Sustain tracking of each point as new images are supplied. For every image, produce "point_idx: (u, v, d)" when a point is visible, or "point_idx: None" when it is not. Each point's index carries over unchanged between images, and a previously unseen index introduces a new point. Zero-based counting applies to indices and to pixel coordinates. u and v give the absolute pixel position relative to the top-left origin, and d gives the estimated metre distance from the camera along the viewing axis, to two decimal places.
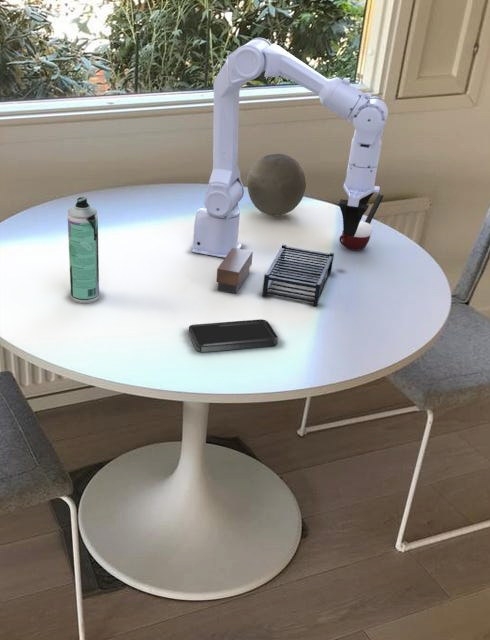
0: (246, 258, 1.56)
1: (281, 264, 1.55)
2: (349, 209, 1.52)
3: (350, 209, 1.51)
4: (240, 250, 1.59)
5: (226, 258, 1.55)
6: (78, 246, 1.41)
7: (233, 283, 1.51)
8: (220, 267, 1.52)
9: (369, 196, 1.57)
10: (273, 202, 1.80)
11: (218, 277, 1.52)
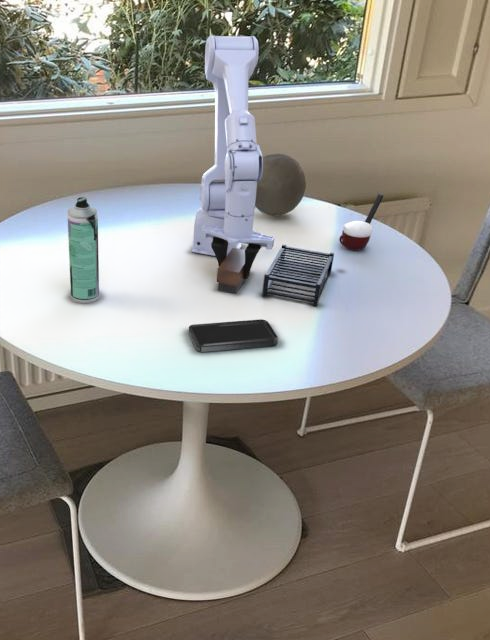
0: None
1: (281, 264, 1.55)
2: None
3: None
4: (240, 250, 1.59)
5: (226, 258, 1.55)
6: (78, 246, 1.41)
7: (233, 283, 1.51)
8: (220, 267, 1.52)
9: (245, 254, 1.51)
10: (273, 202, 1.80)
11: (218, 277, 1.52)
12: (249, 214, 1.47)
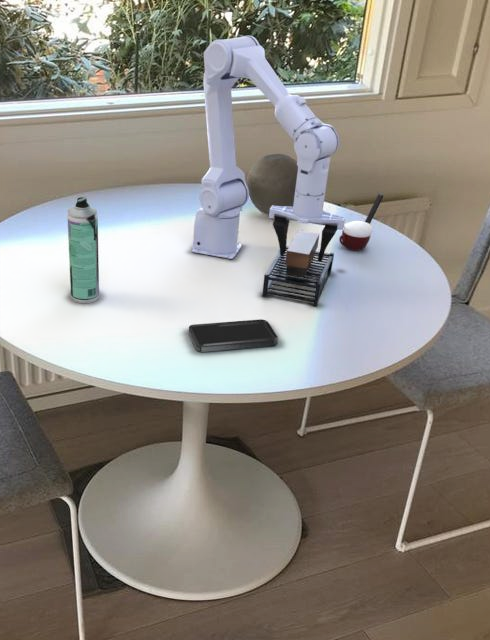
0: (314, 241, 1.53)
1: (281, 264, 1.55)
2: None
3: None
4: (306, 232, 1.56)
5: (294, 240, 1.53)
6: (78, 246, 1.41)
7: (303, 265, 1.49)
8: (289, 249, 1.49)
9: None
10: (273, 202, 1.80)
11: (287, 259, 1.49)
12: (325, 191, 1.46)
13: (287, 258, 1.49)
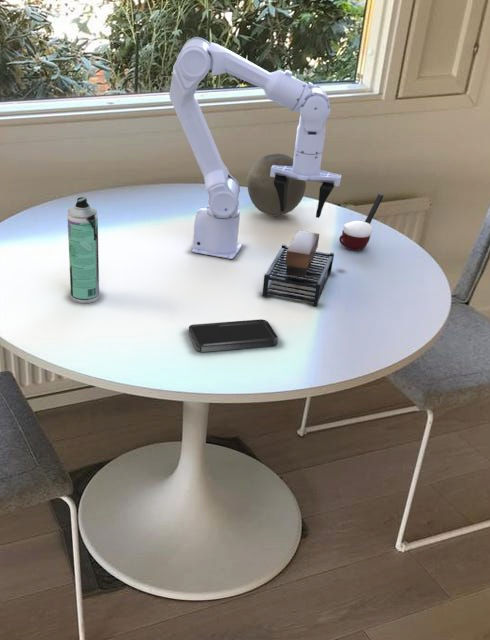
0: (314, 241, 1.53)
1: (281, 264, 1.55)
2: None
3: None
4: (306, 232, 1.56)
5: (294, 240, 1.53)
6: (78, 246, 1.41)
7: (303, 265, 1.49)
8: (289, 249, 1.49)
9: None
10: (273, 202, 1.80)
11: (287, 259, 1.49)
12: None
13: (287, 258, 1.49)
